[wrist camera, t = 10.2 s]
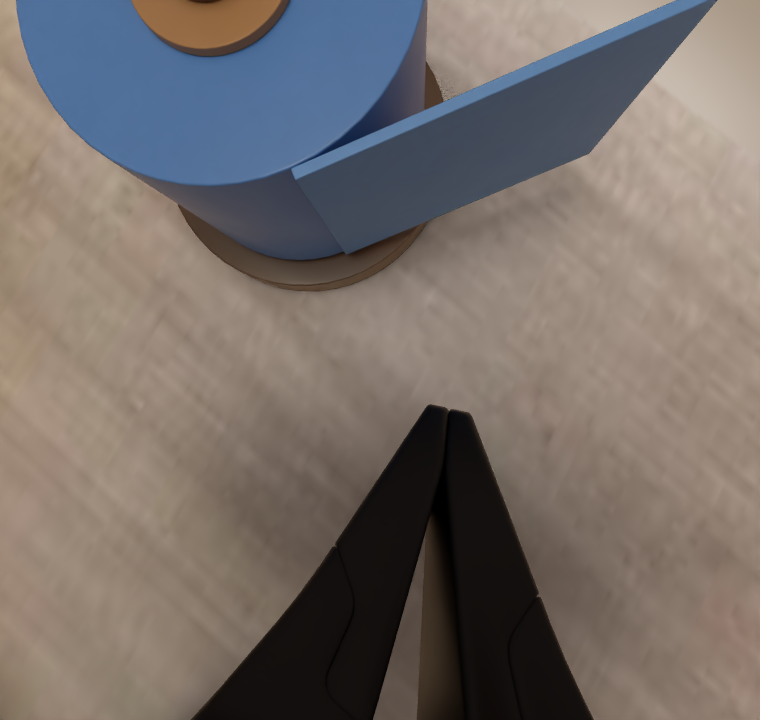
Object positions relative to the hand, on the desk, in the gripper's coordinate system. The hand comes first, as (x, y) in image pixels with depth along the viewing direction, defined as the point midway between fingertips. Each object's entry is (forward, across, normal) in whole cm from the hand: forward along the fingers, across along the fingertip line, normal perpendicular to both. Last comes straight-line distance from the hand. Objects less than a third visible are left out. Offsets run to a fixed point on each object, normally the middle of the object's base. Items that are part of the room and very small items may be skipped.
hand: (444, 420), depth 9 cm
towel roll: (+14, +5, -1) cm, 15 cm away
